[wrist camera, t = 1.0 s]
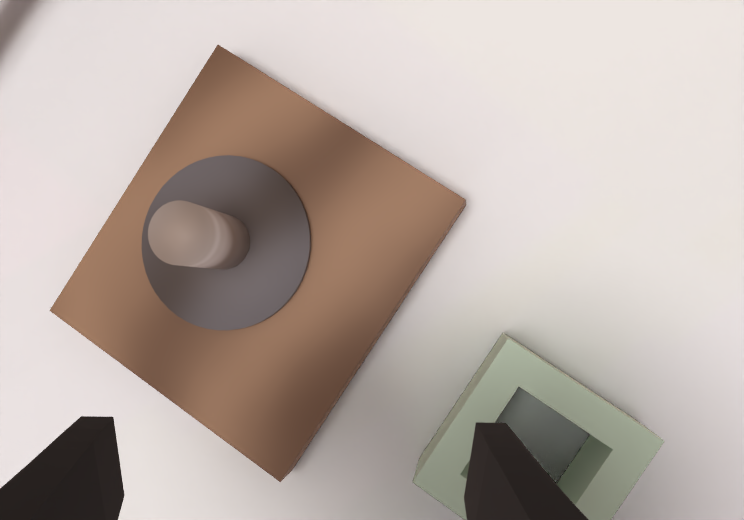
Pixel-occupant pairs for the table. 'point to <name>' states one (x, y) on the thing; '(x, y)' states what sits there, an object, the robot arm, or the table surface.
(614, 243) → the table surface
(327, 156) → the peg base
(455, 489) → the collar
